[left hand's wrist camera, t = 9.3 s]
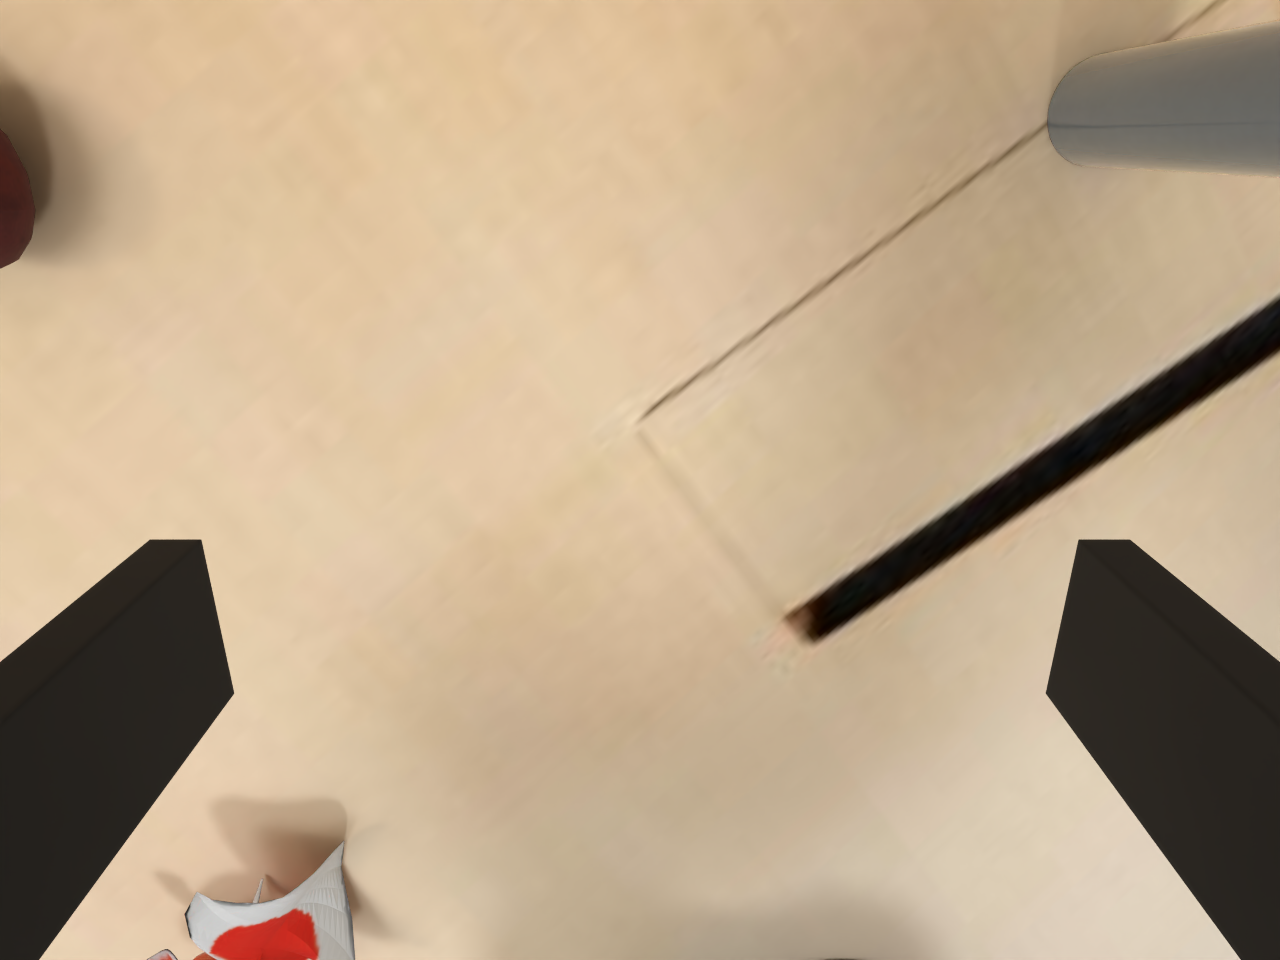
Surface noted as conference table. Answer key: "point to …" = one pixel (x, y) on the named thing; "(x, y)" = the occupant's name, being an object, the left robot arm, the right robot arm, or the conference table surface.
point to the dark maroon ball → (14, 204)
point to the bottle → (1176, 106)
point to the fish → (277, 922)
